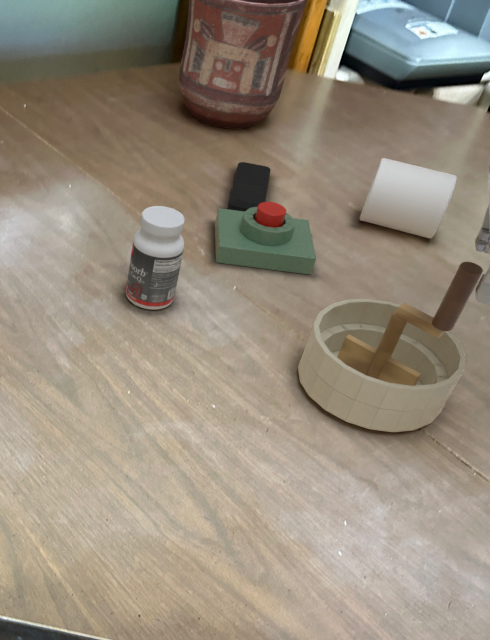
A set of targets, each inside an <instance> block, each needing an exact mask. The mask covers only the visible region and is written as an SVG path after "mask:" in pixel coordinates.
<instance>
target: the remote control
mask: <svg viewBox="0 0 490 640" xmlns="http://www.w3.org/2000/svg"><path fill="white" fill-rule="evenodd" d="M270 175H271V168H270V167H269V166H266V165H261V164H256V163H250V162H245V161H240V162H238V163H237V165H236V170H235V174H234V178H233V182H232V187H231V191H230V195H229V200H228V204H227V208H226V209H228V210H236V211H244V212H245V211H246V210H248V209H249V208H252V207H258V205H259V204H260V203H262V202H267V201H266V200H267V194H268V188H269V183H270Z"/></svg>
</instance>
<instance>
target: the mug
mask: <svg viewBox="0 0 490 640" xmlns="http://www.w3.org/2000/svg"><path fill="white" fill-rule="evenodd" d="M457 180H458V178H457V175H455V174H451V173H447V172H443V171H439V170H435V169H431V168H428V167H423V166H419V165H414V164H410V163H407V162H402V161H399V160H394V159H390V158H387V157H382V158H381V159H380V161H379V163H378V166H377V169H376V171H375V174H374V176H373V179H372V182H371V184H370V188H369V190H368V193H367V196H366V199H365V201H364V203H363V207H362V210H361V213H360V215H359V221H361V222H366V223H368V224H369V223H370V224H373V225H377V226H381V227H384V228H388V229H392V230H396V231H400V232H402V233H407V234H411V235H414V236H418V237H422V238H426V239H432V238H433V237H434V236H435V234H436V232H437V230H438V229H439V228H440V227H439V226H440V225H441V222H442V221H443V218H444V216H445V214H446V212H447V210H448V207H449V205H450V202H451V199H452V197H453V193H454V191H455V188H456V186H457V185H456V184H457Z"/></svg>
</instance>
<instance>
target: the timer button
mask: <svg viewBox="0 0 490 640" xmlns="http://www.w3.org/2000/svg"><path fill="white" fill-rule="evenodd" d="M286 213H287V208H286V207H285V206H283V205H282V204H280V203H277V202H273V201H265V202H262V203H260V204H259V205H258V207H257V211H256V215H255V221H256V222H257V223H258V224H261V225H263V226H266V227H273V228H276V227H281V226H282V225H283V222H284V219H285V215H286Z"/></svg>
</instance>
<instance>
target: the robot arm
mask: <svg viewBox="0 0 490 640" xmlns="http://www.w3.org/2000/svg"><path fill="white" fill-rule="evenodd" d="M487 188H488V190H487V191H488V193H487V194H488V202H487V206H486V209H485V213H484V215H483V220H482V223H481V226H480V229H479V230H478V233H477V235H476V237H475V238H474V239H475V240H474V247H475V251H477V252H479V253H485V254H489V255H490V167H489V168H488V172H487ZM474 299H475V301H476V302H477V303H480V304H483V305H484V304H485V305H488V306H490V265H489V266H488V268H487V270H486V271H485V273H482V274H481V276H480V278H479V280H478V283H477V284H476V286H475V298H474Z"/></svg>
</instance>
